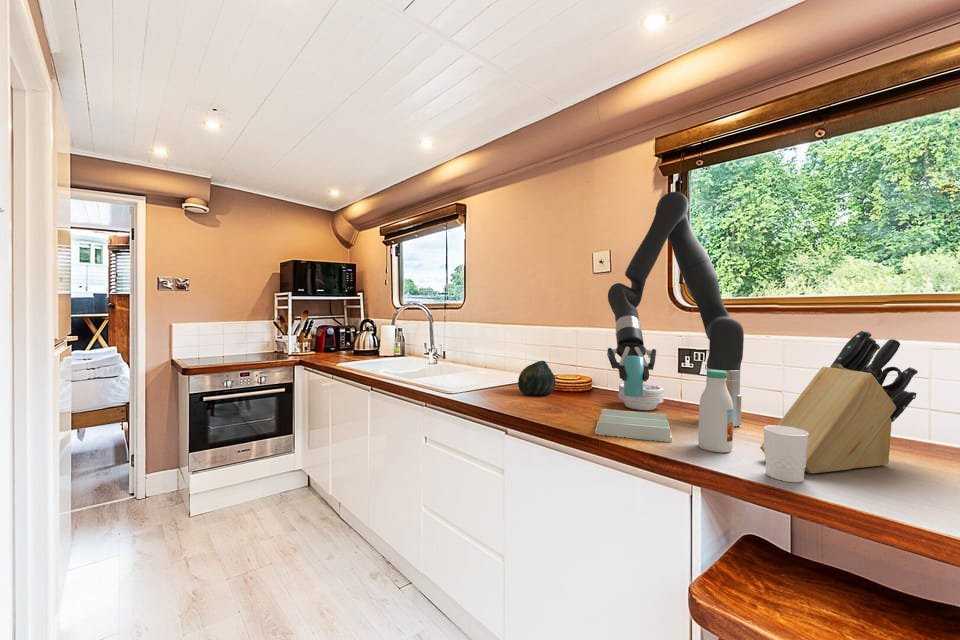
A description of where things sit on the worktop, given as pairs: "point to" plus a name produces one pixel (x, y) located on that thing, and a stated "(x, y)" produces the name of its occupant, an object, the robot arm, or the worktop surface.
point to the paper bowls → (643, 397)
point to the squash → (537, 379)
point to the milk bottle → (716, 414)
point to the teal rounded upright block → (633, 375)
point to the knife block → (851, 407)
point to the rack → (634, 425)
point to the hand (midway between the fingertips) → (634, 379)
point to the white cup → (785, 452)
